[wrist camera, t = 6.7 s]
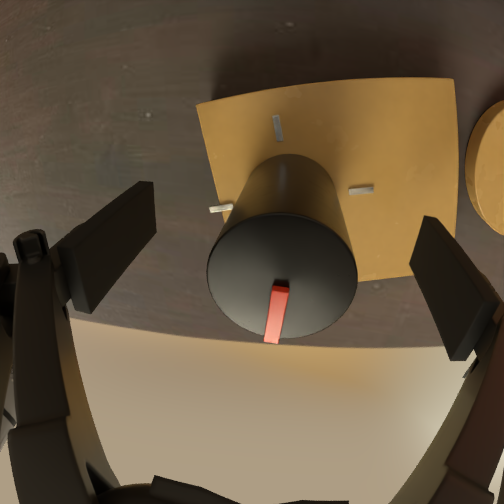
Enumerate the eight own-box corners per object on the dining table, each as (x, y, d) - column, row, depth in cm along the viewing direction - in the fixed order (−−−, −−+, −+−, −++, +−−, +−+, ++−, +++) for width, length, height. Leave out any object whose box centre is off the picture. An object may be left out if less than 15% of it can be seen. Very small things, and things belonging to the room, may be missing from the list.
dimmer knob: (248, 147, 16) (204, 205, 9) (343, 161, 16) (378, 232, 9) (241, 232, 19) (203, 332, 12) (326, 244, 18) (337, 352, 11)
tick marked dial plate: (241, 268, 24) (233, 294, 21) (201, 103, 18) (183, 107, 15) (436, 248, 20) (451, 272, 18) (433, 77, 15) (455, 78, 12)
